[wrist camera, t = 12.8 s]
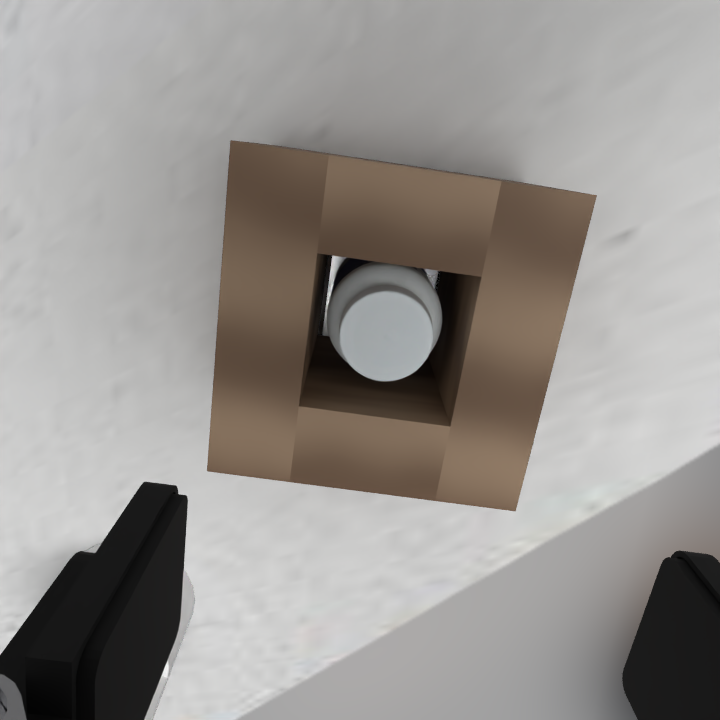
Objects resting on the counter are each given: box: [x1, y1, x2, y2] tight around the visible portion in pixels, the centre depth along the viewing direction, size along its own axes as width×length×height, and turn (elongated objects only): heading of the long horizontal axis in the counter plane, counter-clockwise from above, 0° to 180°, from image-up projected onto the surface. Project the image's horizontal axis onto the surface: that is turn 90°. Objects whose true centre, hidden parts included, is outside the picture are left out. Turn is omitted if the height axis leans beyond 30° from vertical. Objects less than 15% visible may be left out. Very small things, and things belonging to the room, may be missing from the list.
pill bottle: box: [327, 258, 442, 381], centre depth 30 cm, size 5×5×10 cm
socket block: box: [207, 141, 597, 511], centre depth 30 cm, size 14×14×11 cm
